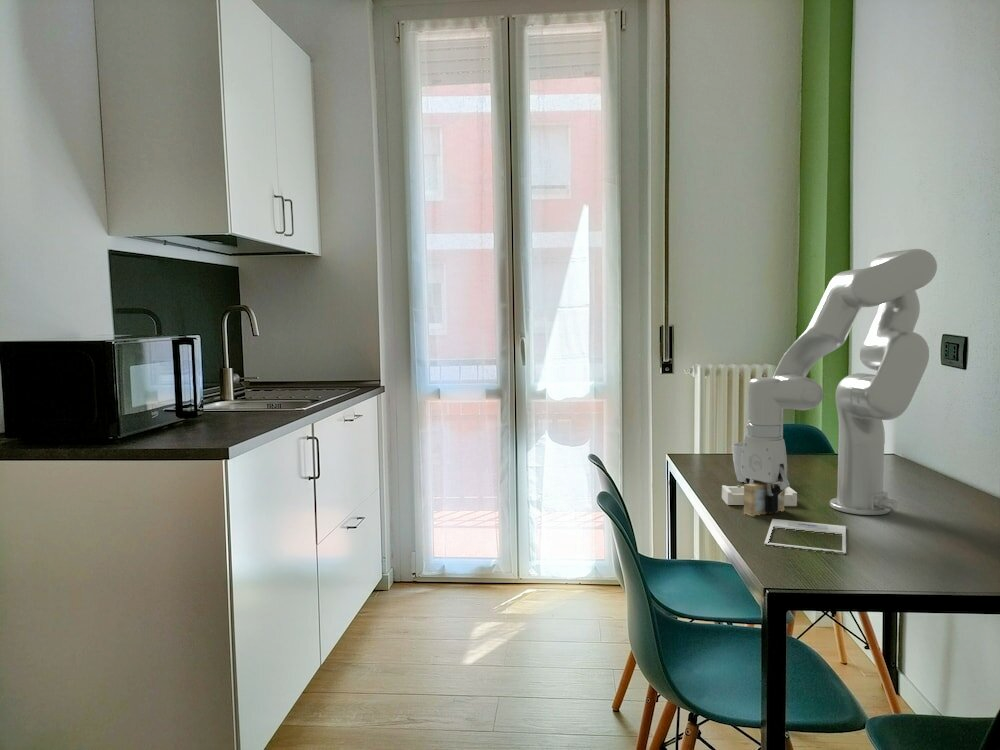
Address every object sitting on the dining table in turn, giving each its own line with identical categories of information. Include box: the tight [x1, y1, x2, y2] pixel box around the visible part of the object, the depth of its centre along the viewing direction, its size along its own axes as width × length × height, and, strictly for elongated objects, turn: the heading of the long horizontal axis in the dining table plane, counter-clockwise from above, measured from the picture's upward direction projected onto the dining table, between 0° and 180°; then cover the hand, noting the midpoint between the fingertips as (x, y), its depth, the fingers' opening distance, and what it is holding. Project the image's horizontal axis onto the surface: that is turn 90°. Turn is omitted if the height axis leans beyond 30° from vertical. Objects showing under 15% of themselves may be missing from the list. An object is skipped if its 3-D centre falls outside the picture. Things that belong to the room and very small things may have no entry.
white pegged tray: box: [721, 484, 798, 507], centre depth 173 cm, size 16×7×3 cm, turn 84°
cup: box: [732, 441, 757, 484], centre depth 194 cm, size 8×8×10 cm
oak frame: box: [743, 481, 785, 517], centre depth 164 cm, size 10×2×7 cm, turn 114°
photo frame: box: [763, 518, 847, 554], centre depth 146 cm, size 15×1×18 cm
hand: (764, 508), depth 164 cm, fingers open, 3 cm apart
